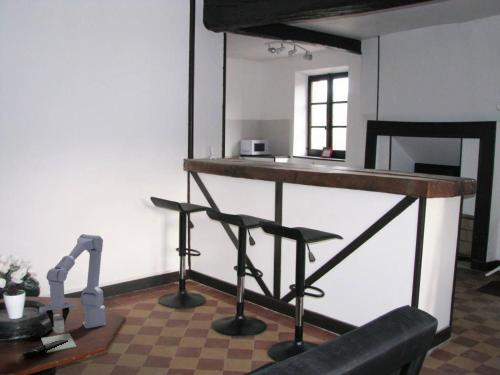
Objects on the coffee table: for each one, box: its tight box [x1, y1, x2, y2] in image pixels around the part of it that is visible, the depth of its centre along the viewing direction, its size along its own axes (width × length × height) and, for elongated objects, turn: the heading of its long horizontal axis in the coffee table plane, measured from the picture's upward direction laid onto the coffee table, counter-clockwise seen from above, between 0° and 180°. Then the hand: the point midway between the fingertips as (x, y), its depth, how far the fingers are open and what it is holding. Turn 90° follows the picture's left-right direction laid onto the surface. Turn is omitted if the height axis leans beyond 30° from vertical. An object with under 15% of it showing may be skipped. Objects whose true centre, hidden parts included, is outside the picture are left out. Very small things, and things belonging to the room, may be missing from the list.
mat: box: [41, 333, 77, 353], centre depth 222 cm, size 12×16×1 cm
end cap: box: [31, 316, 53, 338], centre depth 233 cm, size 10×7×7 cm
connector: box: [52, 313, 65, 334], centre depth 220 cm, size 4×13×5 cm, turn 30°
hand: (58, 325), depth 221 cm, fingers closed on connector, 4 cm apart
